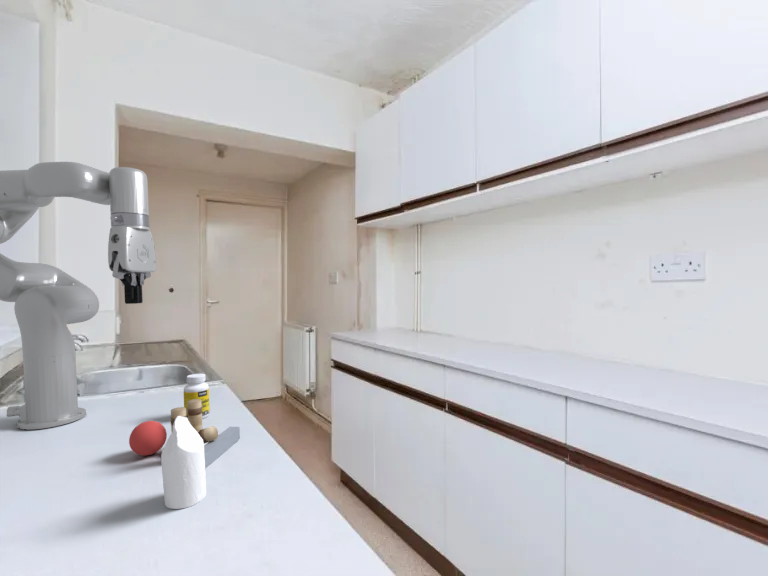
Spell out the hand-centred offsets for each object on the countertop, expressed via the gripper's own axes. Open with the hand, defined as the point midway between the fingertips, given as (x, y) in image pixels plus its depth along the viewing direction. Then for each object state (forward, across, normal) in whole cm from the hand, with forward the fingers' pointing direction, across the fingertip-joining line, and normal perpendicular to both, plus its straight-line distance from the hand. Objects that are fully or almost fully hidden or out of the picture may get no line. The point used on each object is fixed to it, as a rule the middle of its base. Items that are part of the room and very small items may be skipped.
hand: (133, 303), depth 94 cm
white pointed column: (+27, -32, -32) cm, 53 cm away
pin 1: (+27, -20, -23) cm, 41 cm away
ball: (+24, -18, -16) cm, 34 cm away
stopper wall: (+27, -17, -29) cm, 43 cm away
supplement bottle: (+27, +3, -13) cm, 30 cm away
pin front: (+26, -17, -20) cm, 37 cm away
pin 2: (+27, -15, -23) cm, 39 cm away
